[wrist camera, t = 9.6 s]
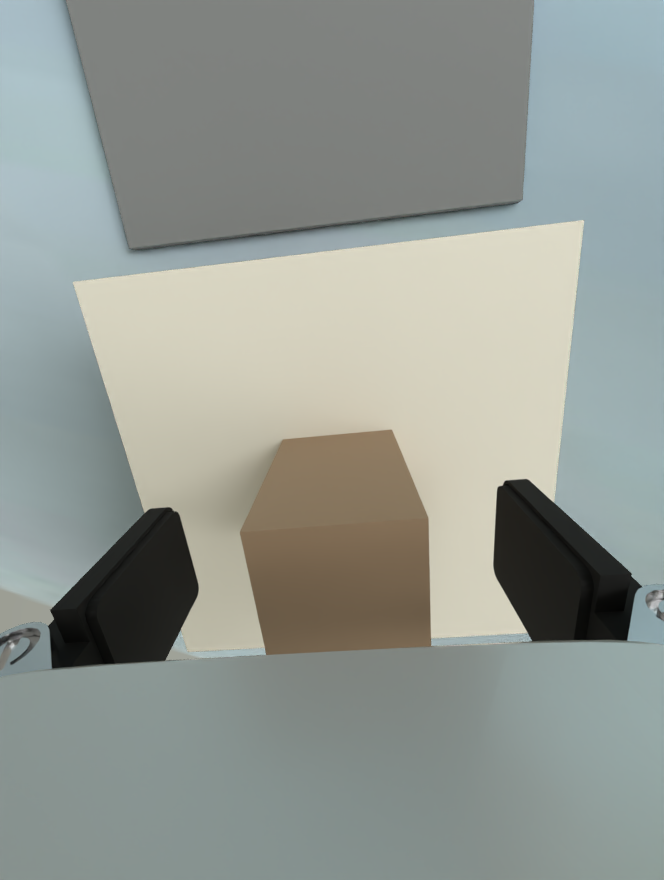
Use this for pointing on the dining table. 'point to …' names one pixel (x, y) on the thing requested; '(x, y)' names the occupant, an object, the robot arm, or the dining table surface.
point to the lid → (343, 428)
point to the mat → (304, 110)
